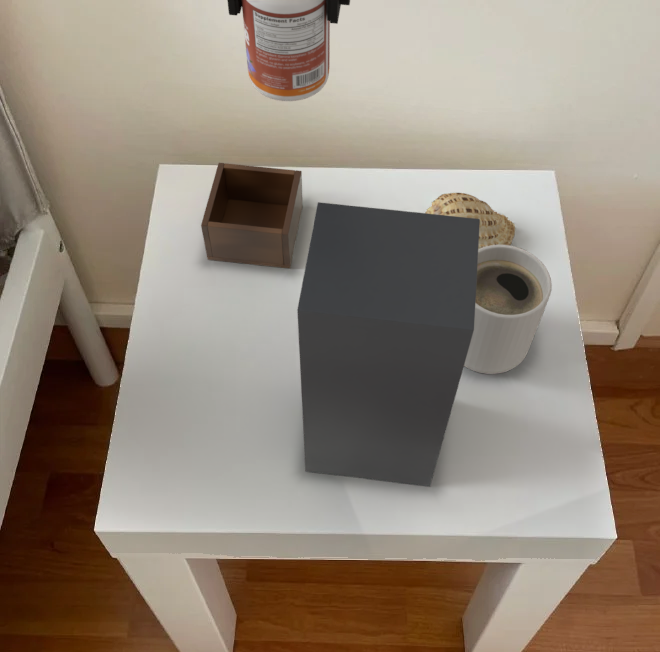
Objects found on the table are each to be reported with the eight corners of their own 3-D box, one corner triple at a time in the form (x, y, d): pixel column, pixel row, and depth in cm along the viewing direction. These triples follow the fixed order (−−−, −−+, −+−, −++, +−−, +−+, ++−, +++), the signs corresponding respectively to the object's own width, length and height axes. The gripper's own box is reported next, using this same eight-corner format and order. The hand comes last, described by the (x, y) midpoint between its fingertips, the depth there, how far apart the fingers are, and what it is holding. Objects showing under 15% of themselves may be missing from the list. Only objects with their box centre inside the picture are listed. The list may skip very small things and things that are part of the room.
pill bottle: (264, 44, 63) (255, -103, 54) (339, 60, 62) (343, -86, 53) (236, 94, 60) (220, -51, 51) (314, 112, 59) (313, -33, 50)
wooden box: (207, 259, 90) (200, 225, 85) (223, 198, 95) (218, 162, 90) (290, 268, 90) (288, 234, 85) (302, 206, 94) (301, 170, 89)
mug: (543, 360, 84) (569, 302, 75) (460, 387, 82) (476, 330, 73) (497, 282, 89) (516, 219, 80) (418, 306, 87) (428, 244, 78)
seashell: (478, 225, 97) (408, 212, 92) (507, 189, 92) (436, 173, 88) (499, 274, 93) (428, 264, 88) (530, 239, 89) (457, 226, 84)
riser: (305, 471, 77) (297, 310, 55) (319, 383, 82) (317, 201, 60) (430, 487, 76) (474, 330, 54) (437, 397, 81) (480, 218, 59)
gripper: (86, -299, 39) (152, 31, 55) (440, -277, 38) (406, 52, 54) (123, -359, 43) (175, -34, 59) (447, -340, 42) (413, -16, 58)
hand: (286, 5), depth 56 cm, fingers closed on pill bottle, 6 cm apart
